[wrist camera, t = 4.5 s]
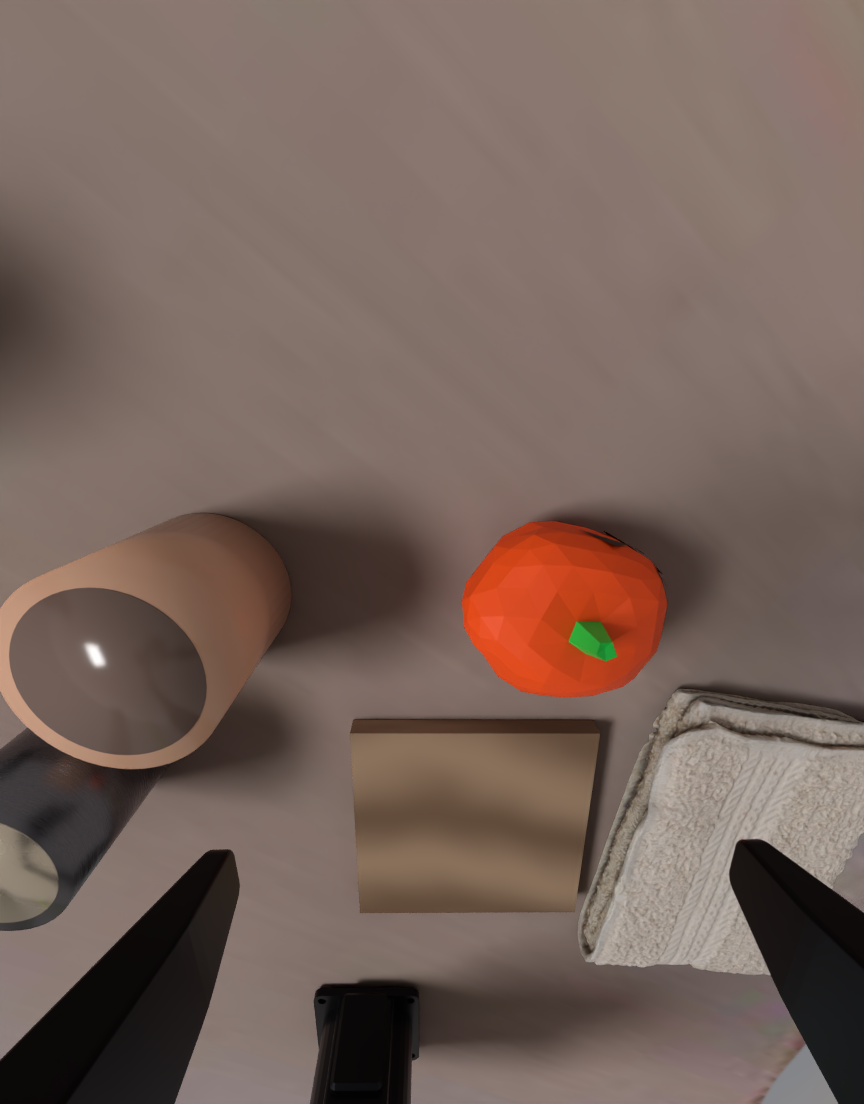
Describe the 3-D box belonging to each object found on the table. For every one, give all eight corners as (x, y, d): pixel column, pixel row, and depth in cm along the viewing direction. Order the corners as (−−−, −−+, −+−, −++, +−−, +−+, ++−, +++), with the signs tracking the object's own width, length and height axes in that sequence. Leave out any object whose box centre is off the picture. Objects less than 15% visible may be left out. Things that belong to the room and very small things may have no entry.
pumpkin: (465, 508, 20) (484, 526, 14) (641, 525, 20) (739, 551, 14) (448, 660, 21) (459, 740, 15) (614, 674, 22) (694, 758, 15)
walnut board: (569, 893, 26) (574, 912, 26) (362, 894, 26) (360, 912, 25) (593, 720, 23) (600, 733, 22) (353, 719, 23) (350, 733, 22)
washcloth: (877, 701, 23) (942, 743, 20) (753, 942, 29) (791, 1004, 26) (653, 673, 23) (687, 712, 20) (569, 925, 28) (586, 986, 25)
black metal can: (184, 784, 24) (88, 931, 17) (68, 784, 24) (-74, 932, 17) (165, 684, 22) (49, 806, 15) (39, 684, 22) (-132, 806, 15)
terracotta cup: (297, 657, 22) (238, 770, 15) (149, 657, 22) (23, 770, 15) (284, 513, 20) (208, 568, 13) (119, 512, 19) (-44, 567, 13)
